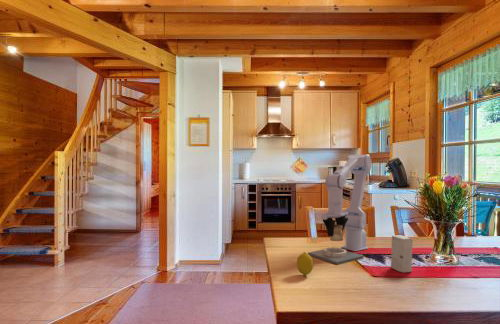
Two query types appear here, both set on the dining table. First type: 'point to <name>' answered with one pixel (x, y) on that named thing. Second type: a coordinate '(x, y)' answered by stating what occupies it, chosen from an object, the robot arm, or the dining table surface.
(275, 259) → the dining table surface
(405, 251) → the skincare box
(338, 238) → the cup
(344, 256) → the collar board
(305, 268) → the lemon
